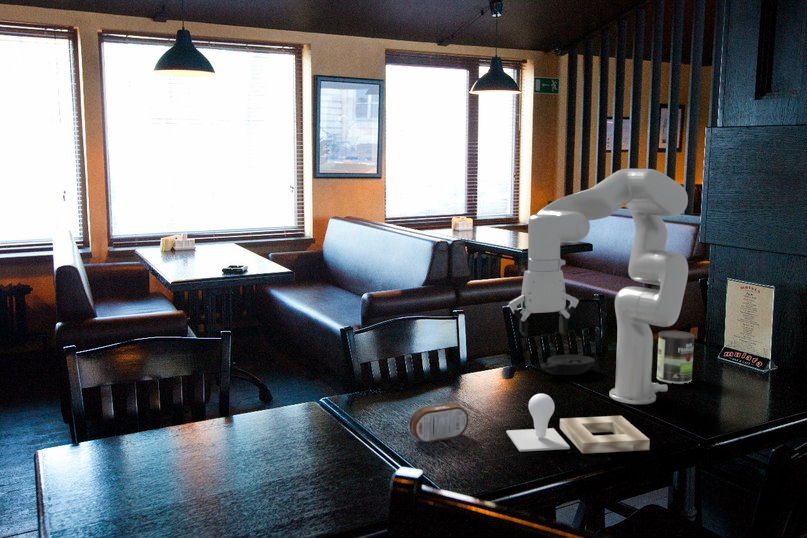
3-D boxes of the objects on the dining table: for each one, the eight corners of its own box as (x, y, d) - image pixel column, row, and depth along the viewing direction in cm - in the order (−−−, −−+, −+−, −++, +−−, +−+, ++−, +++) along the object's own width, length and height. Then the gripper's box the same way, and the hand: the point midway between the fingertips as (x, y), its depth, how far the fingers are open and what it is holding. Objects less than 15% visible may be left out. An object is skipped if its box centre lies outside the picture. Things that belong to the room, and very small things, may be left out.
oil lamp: (525, 373, 231) (525, 358, 230) (569, 363, 242) (570, 348, 241) (559, 385, 219) (560, 369, 218) (604, 374, 230) (605, 359, 229)
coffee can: (699, 381, 222) (702, 335, 220) (675, 386, 217) (677, 339, 215) (673, 372, 231) (675, 328, 229) (649, 377, 226) (651, 332, 224)
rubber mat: (553, 430, 183) (553, 428, 183) (569, 448, 171) (569, 446, 171) (506, 432, 182) (506, 430, 181) (519, 451, 170) (519, 449, 170)
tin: (464, 432, 182) (464, 399, 181) (470, 436, 179) (470, 403, 178) (408, 442, 176) (408, 408, 175) (414, 446, 173) (414, 412, 172)
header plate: (620, 425, 186) (621, 415, 186) (649, 449, 170) (649, 439, 170) (559, 428, 184) (560, 418, 184) (582, 453, 168) (583, 443, 168)
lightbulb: (552, 434, 179) (553, 390, 177) (554, 443, 173) (556, 398, 171) (526, 432, 180) (528, 389, 178) (528, 442, 174) (529, 397, 172)
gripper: (572, 261, 182) (571, 328, 185) (504, 264, 179) (505, 332, 182) (584, 266, 174) (583, 336, 177) (513, 269, 172) (513, 340, 175)
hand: (543, 334), depth 180 cm, fingers open, 9 cm apart
